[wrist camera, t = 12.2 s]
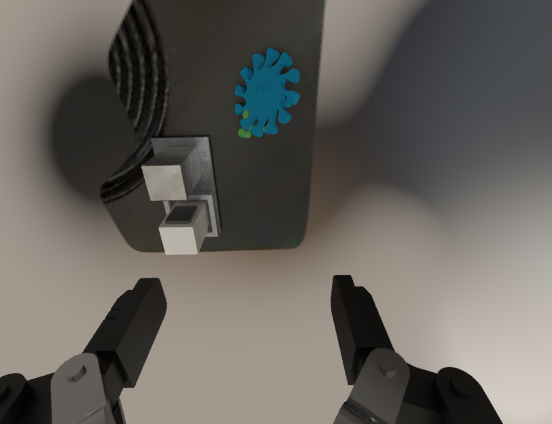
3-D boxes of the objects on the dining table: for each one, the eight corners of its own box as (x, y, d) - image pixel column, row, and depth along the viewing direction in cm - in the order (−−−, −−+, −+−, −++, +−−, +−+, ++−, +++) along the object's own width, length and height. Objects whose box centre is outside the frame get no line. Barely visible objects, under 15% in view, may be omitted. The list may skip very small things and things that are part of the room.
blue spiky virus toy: (260, 28, 31) (309, 78, 28) (290, 48, 36) (336, 94, 32) (216, 108, 37) (252, 159, 33) (247, 117, 42) (282, 163, 38)
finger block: (205, 196, 43) (192, 223, 36) (209, 224, 45) (197, 254, 38) (176, 197, 43) (157, 224, 36) (182, 224, 45) (165, 254, 38)
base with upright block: (153, 136, 39) (123, 156, 31) (209, 135, 39) (193, 154, 31) (175, 230, 47) (156, 264, 39) (222, 229, 47) (211, 263, 39)
